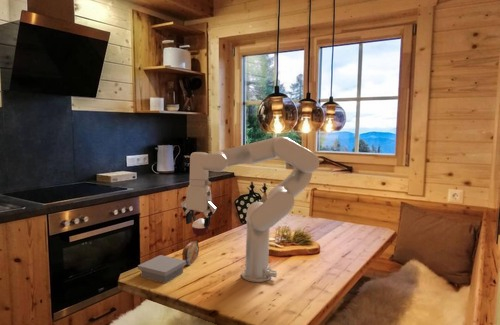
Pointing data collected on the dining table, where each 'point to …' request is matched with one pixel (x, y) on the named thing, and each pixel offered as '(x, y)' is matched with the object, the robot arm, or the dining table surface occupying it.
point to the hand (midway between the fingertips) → (197, 224)
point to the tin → (190, 252)
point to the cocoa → (199, 226)
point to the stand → (162, 268)
